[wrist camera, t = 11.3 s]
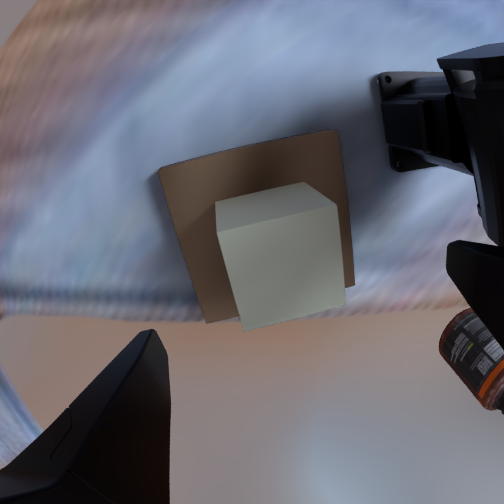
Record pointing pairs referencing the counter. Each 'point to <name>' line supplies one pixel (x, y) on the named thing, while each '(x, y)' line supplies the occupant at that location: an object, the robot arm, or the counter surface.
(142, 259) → the counter surface
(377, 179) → the counter surface
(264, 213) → the cube
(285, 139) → the brown square tile
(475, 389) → the supplement bottle
